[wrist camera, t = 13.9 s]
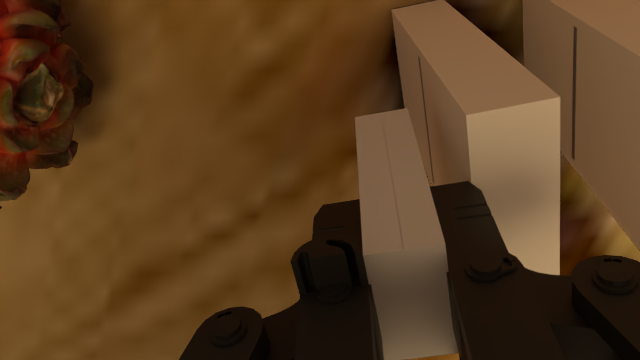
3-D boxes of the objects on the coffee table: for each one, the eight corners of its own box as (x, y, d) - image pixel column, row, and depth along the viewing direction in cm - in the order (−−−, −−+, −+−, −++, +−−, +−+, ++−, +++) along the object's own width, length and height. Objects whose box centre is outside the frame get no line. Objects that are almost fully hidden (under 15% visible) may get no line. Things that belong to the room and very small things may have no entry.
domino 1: (406, 127, 24) (480, 295, 14) (390, 10, 22) (465, 115, 12) (454, 118, 24) (559, 281, 14) (443, -1, 22) (560, 96, 12)
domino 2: (524, 106, 24) (653, 269, 14) (521, -17, 21) (673, 77, 12) (574, 98, 23) (740, 257, 14) (577, -28, 21) (778, 59, 11)
